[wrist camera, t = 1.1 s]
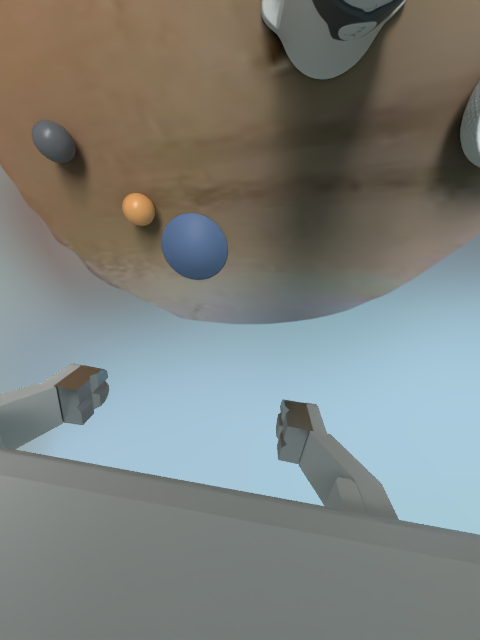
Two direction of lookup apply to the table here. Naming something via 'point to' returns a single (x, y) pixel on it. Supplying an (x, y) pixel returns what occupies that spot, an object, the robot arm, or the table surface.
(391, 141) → the table surface
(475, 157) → the cereal bowl
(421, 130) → the table surface
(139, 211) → the orange ball
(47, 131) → the charcoal ball
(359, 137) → the table surface
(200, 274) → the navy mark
